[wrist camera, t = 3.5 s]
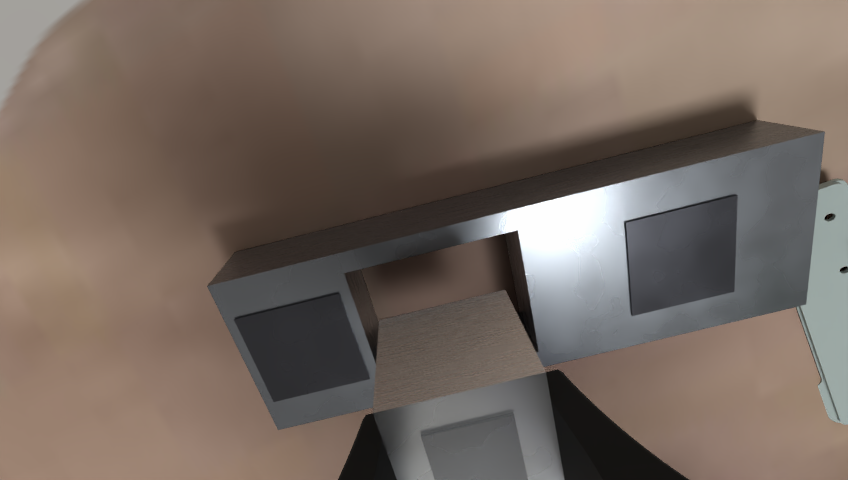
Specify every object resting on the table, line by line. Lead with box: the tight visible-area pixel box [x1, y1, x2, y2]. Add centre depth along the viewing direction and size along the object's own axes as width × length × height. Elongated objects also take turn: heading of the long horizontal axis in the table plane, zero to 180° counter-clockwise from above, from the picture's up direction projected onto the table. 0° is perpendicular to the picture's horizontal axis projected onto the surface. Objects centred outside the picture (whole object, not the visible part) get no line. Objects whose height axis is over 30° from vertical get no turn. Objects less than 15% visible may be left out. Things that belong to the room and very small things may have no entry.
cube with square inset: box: [373, 290, 565, 480], centre depth 13 cm, size 4×4×4 cm
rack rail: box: [207, 120, 825, 430], centre depth 18 cm, size 7×22×3 cm, turn 103°
